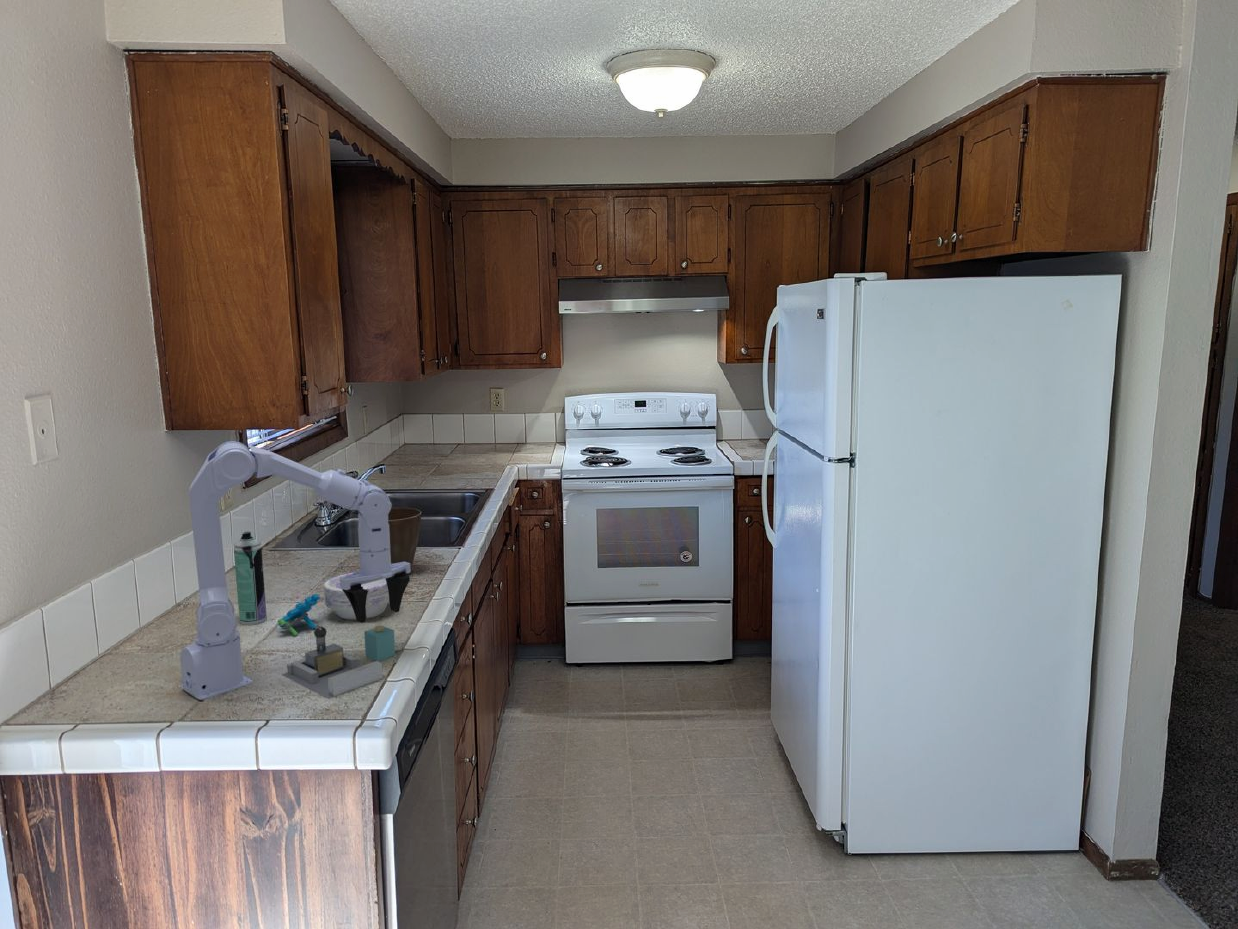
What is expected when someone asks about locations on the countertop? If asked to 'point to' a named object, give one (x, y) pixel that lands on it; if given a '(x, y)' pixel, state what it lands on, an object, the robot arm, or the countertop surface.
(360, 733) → the countertop surface
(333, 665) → the block
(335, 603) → the paper bowls
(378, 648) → the block
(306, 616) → the blue toy water gun
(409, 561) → the plant pot
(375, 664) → the base
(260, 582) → the spray can
